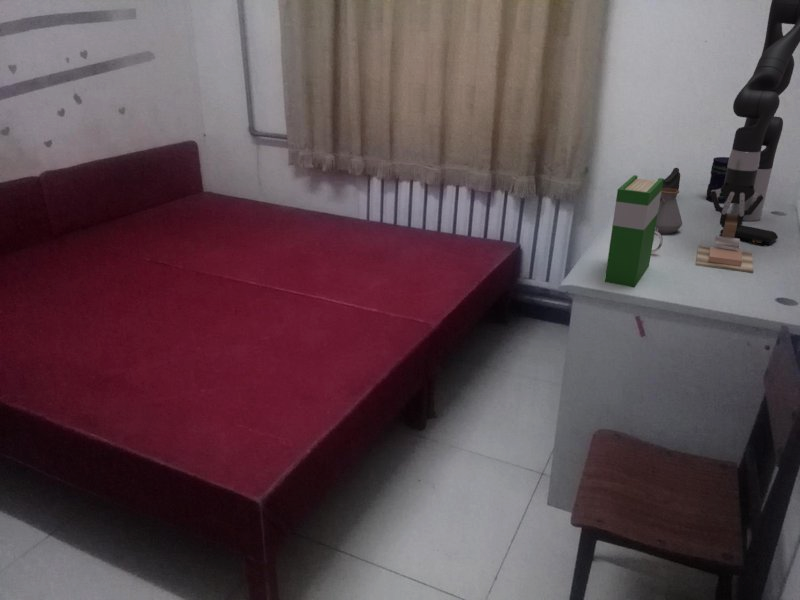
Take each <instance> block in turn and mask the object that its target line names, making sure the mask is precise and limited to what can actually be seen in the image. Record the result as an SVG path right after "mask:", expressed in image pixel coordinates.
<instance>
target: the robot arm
mask: <svg viewBox="0 0 800 600" xmlns="http://www.w3.org/2000/svg"><path fill="white" fill-rule="evenodd" d="M784 24H786V25H793V27H792V28H791V29H790V30H789V31H788V32H787V33H786V34H783V33H784V32H783V25H784ZM764 38H765V39H764V43H763V49H762V53H761V56H760V57H759V59H758V62H757V64H756V67H755V69H754V72H753V74H752V76H751V77H750V79H749V80H748V81H747V83H746V84H745V85H744V86H743V87H742V88H741V89H740V90H739V92H738V94H737V95H736V97H735V99H734V100H733V103H732V104H733V106H732V109H733V112H734V114H735V116H736V117H739V118H746V119H745V121H744V126H742V127H738V128H737V129H736V131H735V133H734V139H733V143H732V148H731V152H730V154H729V161H728V166H727V171H726V176H725V181H724V184H723V186H722V187H721V189H717V190H712V191H711V196H712V200H713V202H712V203H713V207H714V211H715V212H719V213H720V218H719V225H721V228H723V227H724V225H725V220H726V217H727V214H728V210H729V208H730V205H731V204H732V205H731V209H730V213H729V214H736V215H738V218H737V220H738V221H737V228H736V229H738V227H741V226H742V225H743V222H744V221H746V222H747V221H748V222H755V221H760V220H761V217H762V213H763V210H764V209H763V208H764V205H765V201H766V197H767V192H768V188H769V184H770V181H771V180H770V179H771V173H772V172H773V171H772V170H773V166H774V161H775V156H776V153H777V148H778V146H779V141H780V138H781V136H782V132H783V131H782V130H783V127H784V120H783V118H782V117H780V116H775V115H776V113H777V111H778V109H779V107H780V95H781V94H782V93H783V92H785V90H786V89H788V87H789V86H790V83H791V80H792V75H793V72H794V68H795V59H794V56H793V54H794V53H795V50H796V49H797V47H798V46H799V44H800V0H771V4H770V6H769V14H768V19H767V26H766V33H765V37H764ZM763 147H764V149H762V148H763ZM721 192H722V194H723V196H724V198H725V199H726V201H725V203H724V204H723V206H720V203H719V201H718V198H717V197H719V196H720V193H721ZM730 203H731V204H730Z"/></svg>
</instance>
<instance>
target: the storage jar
mask: <svg viewBox="0 0 800 600" xmlns="http://www.w3.org/2000/svg"><path fill="white" fill-rule="evenodd" d="M729 157H730V156H729ZM729 157H728V156H727V157H725V156H717V157H714V158H713V162H712V164H711V168H710V169H711V170H710V179H709V183H708V185H707V189H706V197H705V201H708V202H710V203H713V200H712V196H711V191H712V190H717V189H721V187H722V186H723V184H724V181H725V176H726V171H727V166H728V161H729ZM717 198H718V201H719V205H720V204H721V205H724V203H725V201H726V199H725V198H724V196H723V194H722V192H721V193H720V196H719V197H717ZM731 204H732V203H730V205H731Z"/></svg>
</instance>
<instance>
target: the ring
mask: <svg viewBox="0 0 800 600" xmlns="http://www.w3.org/2000/svg"><path fill="white" fill-rule="evenodd" d="M654 235H657V236H658V239H659V244H658V247H656V248H655V249H653V250H652V251H651V254H654V253H656V252H658V251H659V250H660V249H661V247H662V245H663V239H664V238H663V236H662V233H659V232H658V228H657V230H656V227H655V233H654Z"/></svg>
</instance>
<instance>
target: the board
mask: <svg viewBox="0 0 800 600" xmlns="http://www.w3.org/2000/svg"><path fill="white" fill-rule="evenodd" d="M710 247H711V246H704V245H703V246H702V245H698V247H697V254H696V259H695V266H701V267H705V268H706V267H707V268H713V269H721V270H728V271H729V270H730V271H736V272H742V273H749V274H750V273H751V274H754V272H755V271H754V263H753V261H754V259H753V253H752V252H749V251H748V252H747V251H742V264H741V266H734V265H727V264H720V263H712V262H709V252H710Z"/></svg>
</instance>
